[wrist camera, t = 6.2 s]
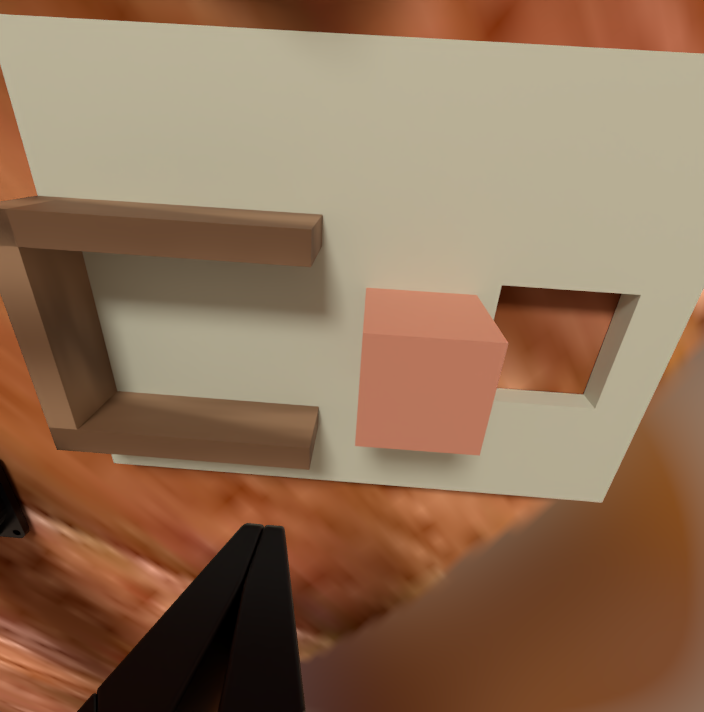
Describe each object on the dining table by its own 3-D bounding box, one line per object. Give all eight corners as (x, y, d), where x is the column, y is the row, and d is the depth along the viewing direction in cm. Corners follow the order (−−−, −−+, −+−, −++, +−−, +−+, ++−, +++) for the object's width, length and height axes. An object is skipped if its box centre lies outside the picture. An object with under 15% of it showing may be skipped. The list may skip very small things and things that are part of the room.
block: (457, 388, 19) (479, 455, 15) (359, 381, 19) (354, 446, 15) (476, 294, 17) (508, 343, 13) (366, 287, 17) (362, 333, 13)
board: (591, 485, 22) (601, 502, 21) (125, 448, 23) (113, 462, 22) (778, 66, 14) (812, 59, 13) (15, 23, 14) (-15, 13, 13)
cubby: (318, 426, 20) (309, 469, 17) (98, 409, 20) (56, 449, 18) (322, 214, 15) (311, 229, 13) (38, 195, 16) (-31, 206, 13)
